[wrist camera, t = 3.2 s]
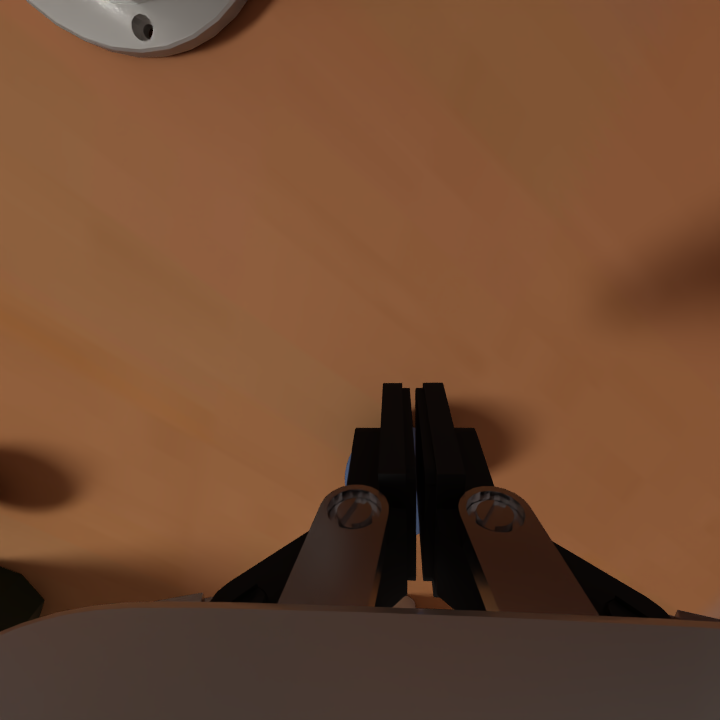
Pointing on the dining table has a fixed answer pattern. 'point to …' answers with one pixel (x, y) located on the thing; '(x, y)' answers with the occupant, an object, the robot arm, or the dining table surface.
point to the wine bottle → (17, 600)
